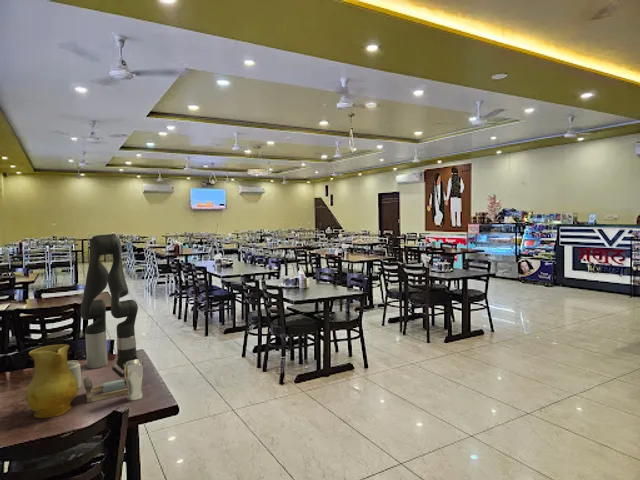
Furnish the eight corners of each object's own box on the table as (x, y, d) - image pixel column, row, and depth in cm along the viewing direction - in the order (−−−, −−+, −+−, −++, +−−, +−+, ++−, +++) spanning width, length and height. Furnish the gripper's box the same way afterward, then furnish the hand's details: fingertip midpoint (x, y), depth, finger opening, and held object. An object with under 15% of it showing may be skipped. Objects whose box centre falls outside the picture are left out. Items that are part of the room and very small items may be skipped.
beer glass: (126, 402, 172) (124, 366, 171) (125, 396, 178) (123, 361, 177) (144, 398, 175) (143, 363, 174) (143, 392, 181) (141, 358, 180)
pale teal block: (102, 392, 183) (102, 383, 183) (123, 387, 187) (122, 379, 187) (104, 397, 178) (104, 388, 178) (125, 392, 182) (124, 383, 182)
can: (58, 390, 184) (56, 363, 183) (74, 384, 191) (73, 358, 190) (68, 393, 181) (66, 366, 180) (85, 387, 187) (83, 360, 187)
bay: (84, 393, 181) (83, 376, 180) (126, 384, 190) (125, 368, 189) (85, 403, 172) (84, 385, 171) (130, 393, 180) (129, 376, 180)
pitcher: (21, 424, 154) (20, 356, 154) (32, 406, 171) (31, 344, 171) (75, 416, 161) (74, 350, 161) (81, 399, 178) (80, 339, 178)
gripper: (141, 341, 191) (143, 378, 192) (108, 346, 183) (110, 385, 185) (144, 345, 184) (146, 384, 185) (110, 351, 177) (113, 391, 178)
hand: (128, 385), depth 185 cm, fingers closed
